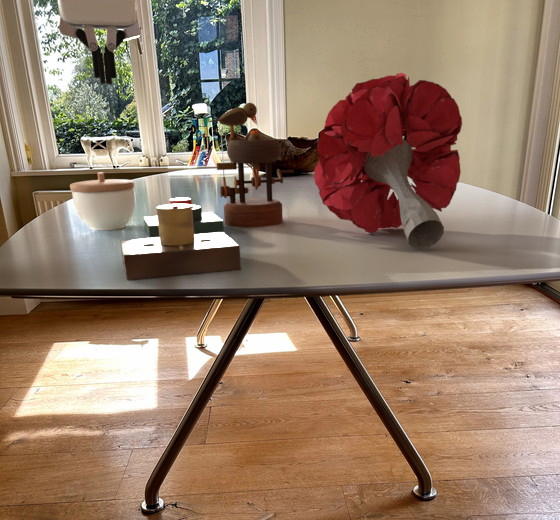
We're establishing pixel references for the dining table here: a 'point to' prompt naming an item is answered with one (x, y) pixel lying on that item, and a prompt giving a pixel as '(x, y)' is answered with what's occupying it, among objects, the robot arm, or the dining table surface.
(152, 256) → the panel
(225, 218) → the wooden bird automaton
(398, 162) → the bouquet
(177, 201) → the button
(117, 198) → the trinket box
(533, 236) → the dining table surface
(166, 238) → the golden brown short cylinder
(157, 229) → the button block
